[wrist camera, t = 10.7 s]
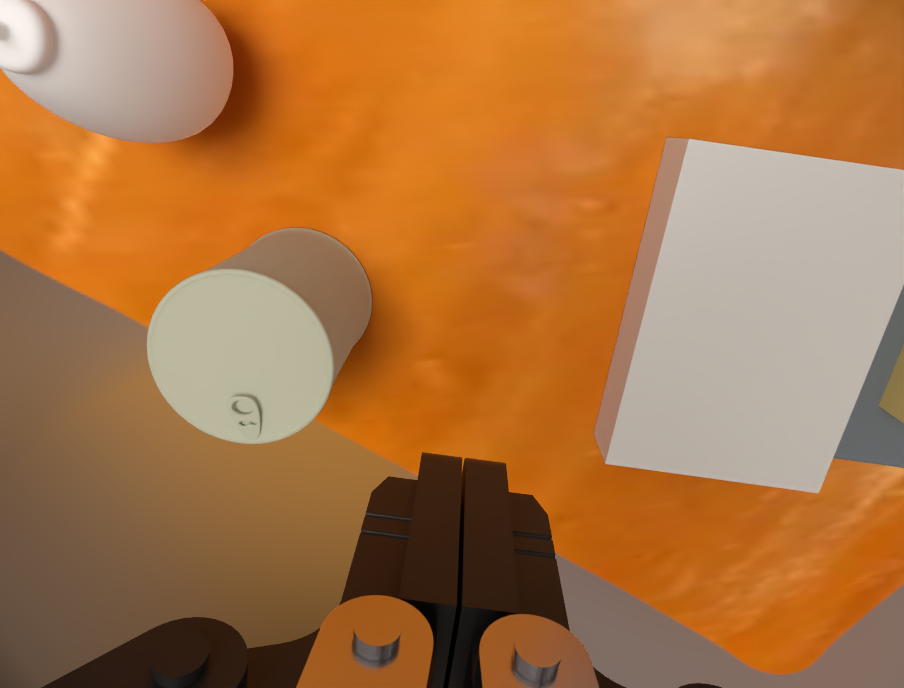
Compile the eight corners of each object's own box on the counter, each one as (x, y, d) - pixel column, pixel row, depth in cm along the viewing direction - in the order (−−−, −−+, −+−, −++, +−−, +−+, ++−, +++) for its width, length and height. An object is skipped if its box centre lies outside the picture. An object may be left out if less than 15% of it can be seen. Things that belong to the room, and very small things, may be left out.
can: (245, 363, 42) (161, 452, 31) (222, 230, 39) (119, 274, 27) (378, 360, 41) (342, 448, 30) (365, 224, 38) (320, 266, 27)
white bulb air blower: (276, 23, 34) (84, -73, 18) (244, 157, 37) (51, 187, 20) (140, -30, 34) (-194, -183, 17) (119, 111, 36) (-191, 101, 19)
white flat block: (666, 137, 36) (689, 138, 32) (898, 170, 36) (947, 176, 32) (593, 433, 43) (605, 463, 39) (788, 460, 43) (818, 493, 39)
